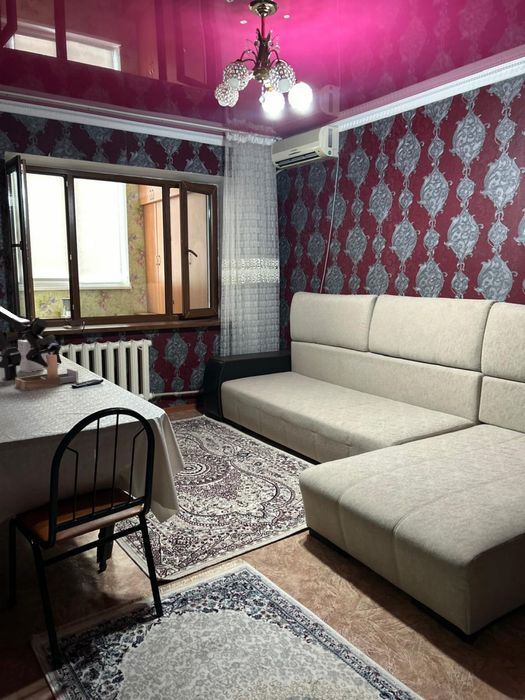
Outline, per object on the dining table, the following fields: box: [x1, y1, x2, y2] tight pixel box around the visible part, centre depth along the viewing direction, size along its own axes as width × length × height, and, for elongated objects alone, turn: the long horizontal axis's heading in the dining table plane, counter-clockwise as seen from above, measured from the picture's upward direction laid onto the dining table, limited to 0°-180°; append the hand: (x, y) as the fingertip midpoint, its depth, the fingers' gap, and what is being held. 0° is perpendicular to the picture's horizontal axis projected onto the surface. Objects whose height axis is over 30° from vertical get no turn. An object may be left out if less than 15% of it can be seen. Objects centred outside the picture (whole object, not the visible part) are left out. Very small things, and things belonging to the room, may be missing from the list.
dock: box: [14, 373, 62, 392], centre depth 262 cm, size 12×17×4 cm
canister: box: [46, 355, 59, 379], centre depth 266 cm, size 5×5×12 cm
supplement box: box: [17, 339, 44, 373], centre depth 297 cm, size 10×9×17 cm
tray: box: [40, 367, 79, 384], centre depth 269 cm, size 10×15×5 cm, turn 134°
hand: (54, 364), depth 265 cm, fingers open, 9 cm apart
